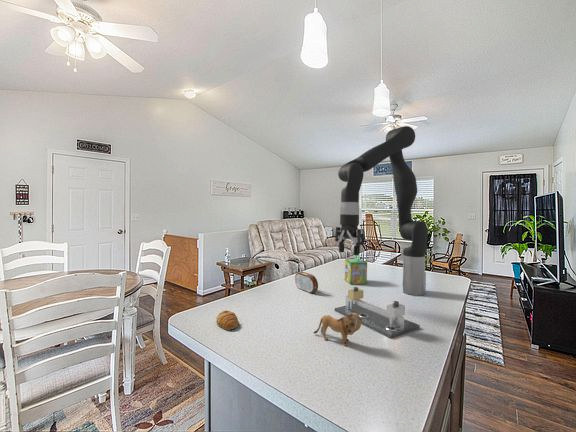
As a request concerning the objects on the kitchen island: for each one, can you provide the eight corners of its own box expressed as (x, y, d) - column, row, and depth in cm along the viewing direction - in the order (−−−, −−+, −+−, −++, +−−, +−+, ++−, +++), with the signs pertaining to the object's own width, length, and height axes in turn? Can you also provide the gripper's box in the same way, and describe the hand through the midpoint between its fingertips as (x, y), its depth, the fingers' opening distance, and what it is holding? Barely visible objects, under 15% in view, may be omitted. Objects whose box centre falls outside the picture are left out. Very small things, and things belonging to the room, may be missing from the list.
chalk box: (344, 280, 151) (344, 252, 150) (360, 279, 152) (361, 252, 151) (350, 284, 142) (350, 255, 141) (367, 284, 143) (367, 255, 142)
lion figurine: (362, 341, 82) (363, 311, 82) (358, 349, 77) (358, 317, 77) (316, 331, 89) (316, 303, 89) (309, 338, 84) (309, 309, 84)
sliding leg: (357, 305, 107) (357, 285, 107) (363, 307, 105) (363, 287, 105) (347, 307, 105) (347, 287, 105) (353, 310, 102) (353, 289, 102)
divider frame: (352, 304, 110) (352, 284, 110) (407, 328, 88) (407, 302, 88) (342, 306, 108) (342, 285, 107) (396, 331, 86) (397, 305, 86)
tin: (318, 294, 127) (318, 275, 126) (313, 295, 125) (313, 276, 125) (299, 286, 139) (298, 269, 139) (293, 287, 137) (293, 270, 137)
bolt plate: (361, 304, 113) (361, 301, 113) (419, 328, 91) (419, 324, 91) (334, 310, 106) (334, 307, 106) (390, 338, 84) (390, 334, 84)
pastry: (243, 328, 92) (242, 316, 91) (223, 333, 88) (223, 321, 88) (232, 318, 100) (232, 308, 99) (214, 323, 96) (214, 312, 96)
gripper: (369, 214, 108) (368, 255, 108) (344, 213, 120) (343, 250, 120) (355, 213, 104) (354, 257, 104) (331, 213, 116) (330, 251, 117)
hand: (348, 253), depth 112 cm, fingers open, 8 cm apart
